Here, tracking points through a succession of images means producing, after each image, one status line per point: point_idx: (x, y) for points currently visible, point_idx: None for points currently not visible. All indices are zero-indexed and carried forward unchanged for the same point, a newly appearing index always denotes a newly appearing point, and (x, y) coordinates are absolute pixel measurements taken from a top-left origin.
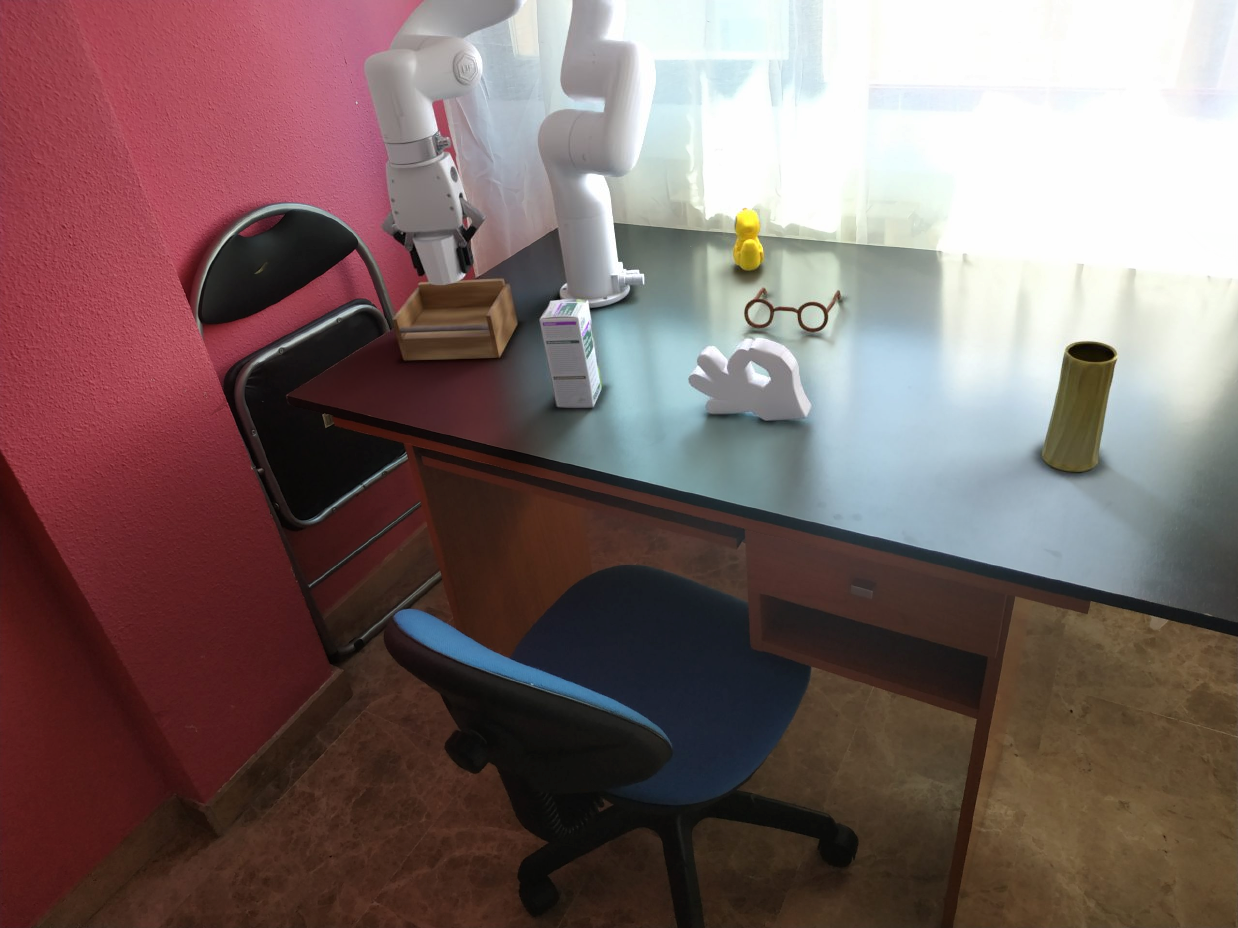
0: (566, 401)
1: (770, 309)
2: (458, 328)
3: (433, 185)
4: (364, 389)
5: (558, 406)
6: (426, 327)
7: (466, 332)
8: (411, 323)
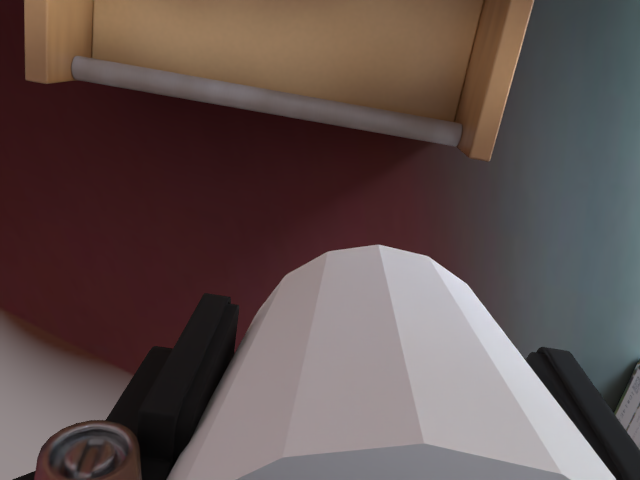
0: None
1: None
2: (331, 123)
3: None
4: (42, 235)
5: None
6: (190, 93)
7: (352, 88)
8: None
